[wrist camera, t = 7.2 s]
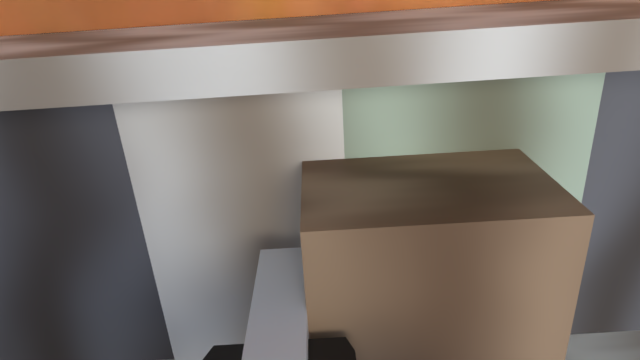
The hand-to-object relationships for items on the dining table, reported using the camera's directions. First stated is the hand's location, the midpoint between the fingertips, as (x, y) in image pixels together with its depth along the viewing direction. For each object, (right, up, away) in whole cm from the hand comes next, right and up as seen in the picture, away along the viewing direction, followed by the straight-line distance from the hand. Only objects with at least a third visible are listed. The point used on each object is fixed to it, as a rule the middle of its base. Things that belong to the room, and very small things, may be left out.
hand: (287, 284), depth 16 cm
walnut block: (+4, +1, +1) cm, 4 cm away
